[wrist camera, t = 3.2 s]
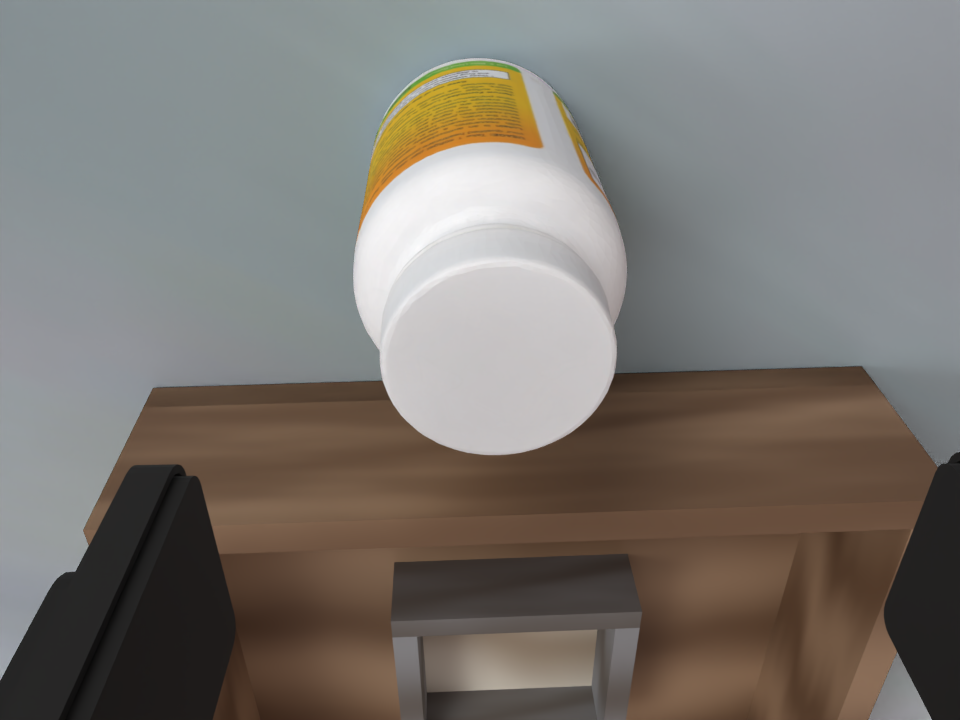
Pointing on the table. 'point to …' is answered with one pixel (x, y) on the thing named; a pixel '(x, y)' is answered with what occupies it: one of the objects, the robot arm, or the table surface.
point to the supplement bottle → (488, 261)
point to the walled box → (553, 550)
